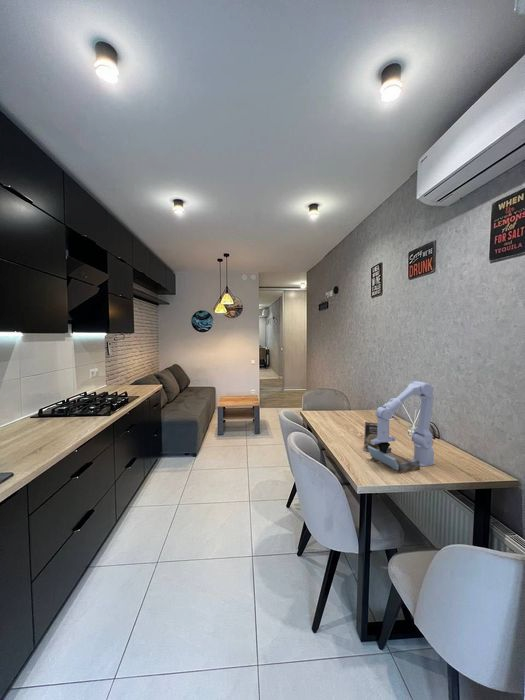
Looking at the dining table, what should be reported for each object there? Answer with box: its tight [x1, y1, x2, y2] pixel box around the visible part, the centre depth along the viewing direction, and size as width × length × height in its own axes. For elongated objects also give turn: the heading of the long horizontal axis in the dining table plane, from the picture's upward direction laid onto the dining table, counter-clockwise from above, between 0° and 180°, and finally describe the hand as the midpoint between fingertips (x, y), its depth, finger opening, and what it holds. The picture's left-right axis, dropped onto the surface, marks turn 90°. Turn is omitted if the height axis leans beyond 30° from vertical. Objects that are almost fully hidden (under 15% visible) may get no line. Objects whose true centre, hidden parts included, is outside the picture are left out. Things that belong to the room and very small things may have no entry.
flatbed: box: [371, 447, 421, 474], centre depth 159 cm, size 13×20×4 cm, turn 21°
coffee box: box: [363, 421, 379, 452], centre depth 177 cm, size 9×6×16 cm
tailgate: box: [368, 446, 399, 470], centre depth 156 cm, size 1×19×6 cm, turn 21°
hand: (382, 456), depth 156 cm, fingers closed, pressing on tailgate
